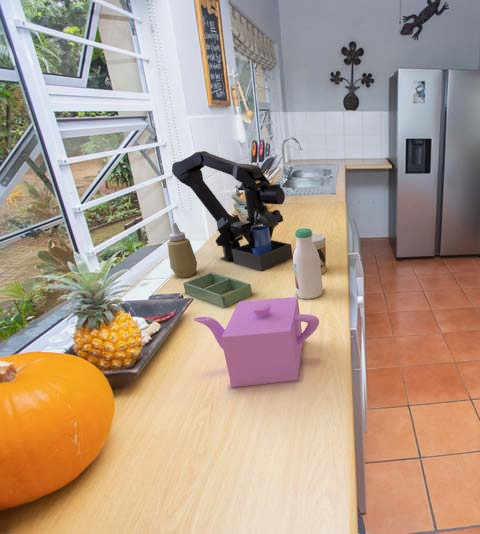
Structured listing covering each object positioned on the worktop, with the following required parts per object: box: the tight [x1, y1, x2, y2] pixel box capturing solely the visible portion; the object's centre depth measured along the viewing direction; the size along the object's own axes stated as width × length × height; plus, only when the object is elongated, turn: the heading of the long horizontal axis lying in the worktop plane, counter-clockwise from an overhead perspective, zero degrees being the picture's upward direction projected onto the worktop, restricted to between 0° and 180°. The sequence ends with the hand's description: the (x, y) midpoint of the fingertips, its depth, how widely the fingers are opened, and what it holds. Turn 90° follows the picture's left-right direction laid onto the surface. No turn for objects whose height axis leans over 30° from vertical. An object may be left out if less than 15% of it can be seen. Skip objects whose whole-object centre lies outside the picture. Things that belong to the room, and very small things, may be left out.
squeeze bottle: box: [167, 222, 198, 278], centre depth 128 cm, size 8×8×18 cm
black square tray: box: [232, 239, 293, 272], centre depth 141 cm, size 15×15×6 cm
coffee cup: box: [312, 233, 327, 275], centre depth 131 cm, size 9×9×12 cm
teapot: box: [193, 296, 320, 388], centre depth 83 cm, size 15×25×14 cm, turn 99°
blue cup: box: [252, 225, 272, 255], centre depth 140 cm, size 7×7×11 cm
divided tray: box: [183, 271, 253, 309], centre depth 116 cm, size 19×10×4 cm, turn 59°
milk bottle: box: [292, 227, 324, 300], centre depth 113 cm, size 8×8×20 cm
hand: (261, 245), depth 140 cm, fingers closed on blue cup, 7 cm apart
